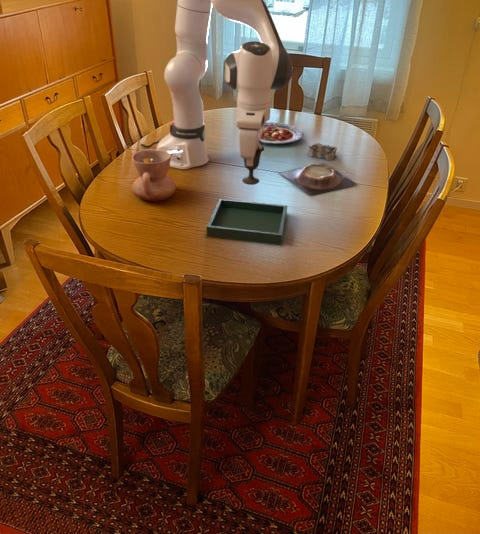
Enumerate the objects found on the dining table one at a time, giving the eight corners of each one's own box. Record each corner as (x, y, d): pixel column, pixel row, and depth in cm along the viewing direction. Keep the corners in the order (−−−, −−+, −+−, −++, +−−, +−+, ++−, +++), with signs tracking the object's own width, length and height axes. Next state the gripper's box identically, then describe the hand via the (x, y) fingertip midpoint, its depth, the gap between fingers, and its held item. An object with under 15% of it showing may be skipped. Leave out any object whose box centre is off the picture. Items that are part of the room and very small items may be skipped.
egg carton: (306, 155, 185) (307, 146, 183) (313, 149, 190) (314, 140, 188) (330, 161, 181) (332, 151, 178) (337, 155, 186) (339, 145, 184)
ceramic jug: (142, 182, 161) (137, 144, 153) (182, 186, 160) (179, 147, 151) (124, 206, 147) (119, 165, 138) (168, 210, 145) (165, 169, 137)
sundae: (246, 188, 127) (247, 136, 118) (235, 178, 132) (236, 128, 123) (266, 183, 130) (269, 132, 121) (255, 174, 135) (257, 124, 126)
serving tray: (206, 236, 134) (206, 226, 132) (219, 207, 148) (219, 198, 146) (281, 245, 131) (281, 235, 129) (286, 214, 145) (287, 205, 143)
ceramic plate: (264, 123, 215) (265, 116, 214) (312, 135, 204) (313, 129, 202) (232, 138, 198) (232, 131, 197) (282, 152, 187) (283, 145, 185)
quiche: (324, 164, 178) (326, 154, 176) (357, 185, 164) (359, 174, 162) (279, 173, 171) (280, 163, 168) (309, 196, 156) (310, 185, 154)
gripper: (247, 99, 128) (246, 146, 136) (235, 123, 112) (234, 175, 120) (269, 100, 127) (267, 148, 135) (260, 125, 111) (257, 177, 119)
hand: (251, 160), depth 127 cm, fingers closed on sundae, 5 cm apart
